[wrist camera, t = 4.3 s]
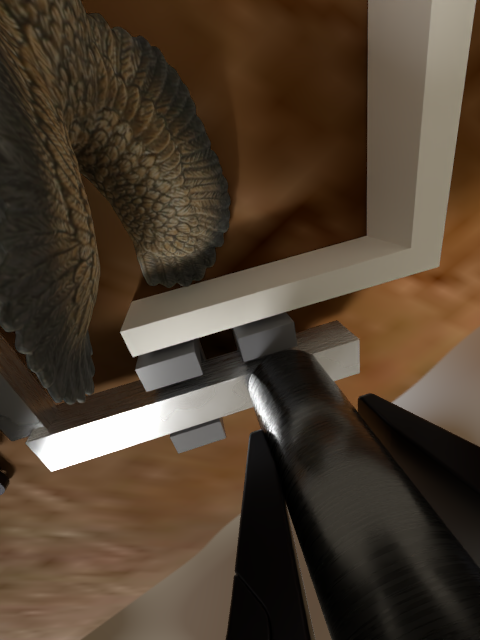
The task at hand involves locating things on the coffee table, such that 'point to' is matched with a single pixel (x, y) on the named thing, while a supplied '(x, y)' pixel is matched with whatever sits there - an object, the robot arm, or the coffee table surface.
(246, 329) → the cradle
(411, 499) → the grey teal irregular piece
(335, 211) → the coffee table surface
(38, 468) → the coffee table surface
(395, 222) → the frame
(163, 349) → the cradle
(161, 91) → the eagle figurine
